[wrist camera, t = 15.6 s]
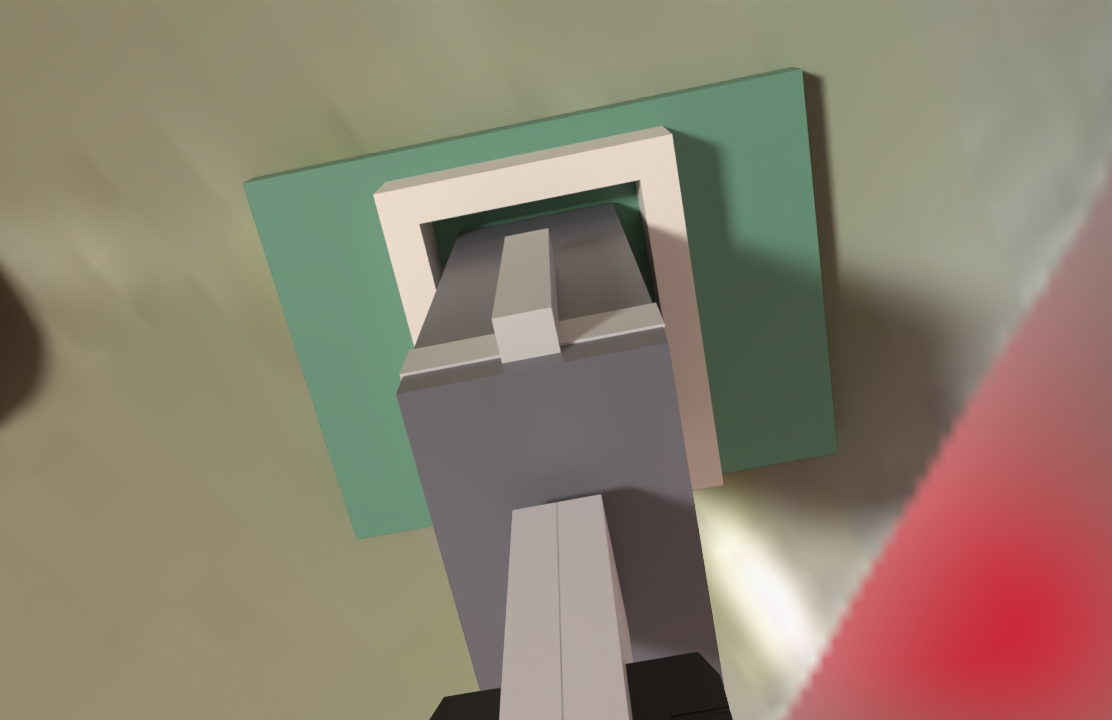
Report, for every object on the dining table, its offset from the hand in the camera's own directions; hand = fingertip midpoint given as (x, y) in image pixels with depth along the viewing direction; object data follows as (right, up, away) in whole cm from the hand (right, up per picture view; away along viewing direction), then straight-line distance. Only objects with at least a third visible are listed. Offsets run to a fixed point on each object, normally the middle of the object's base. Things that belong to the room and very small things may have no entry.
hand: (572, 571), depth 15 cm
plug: (0, +5, +12) cm, 13 cm away
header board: (0, +5, +13) cm, 14 cm away
